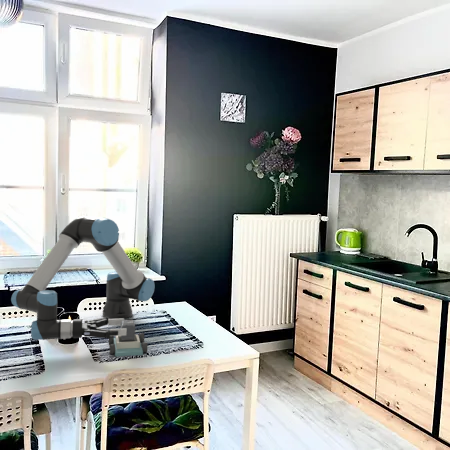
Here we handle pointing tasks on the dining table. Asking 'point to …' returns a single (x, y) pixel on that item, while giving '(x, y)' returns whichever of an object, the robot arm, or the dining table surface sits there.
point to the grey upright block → (128, 331)
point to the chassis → (128, 346)
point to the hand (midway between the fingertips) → (125, 326)
